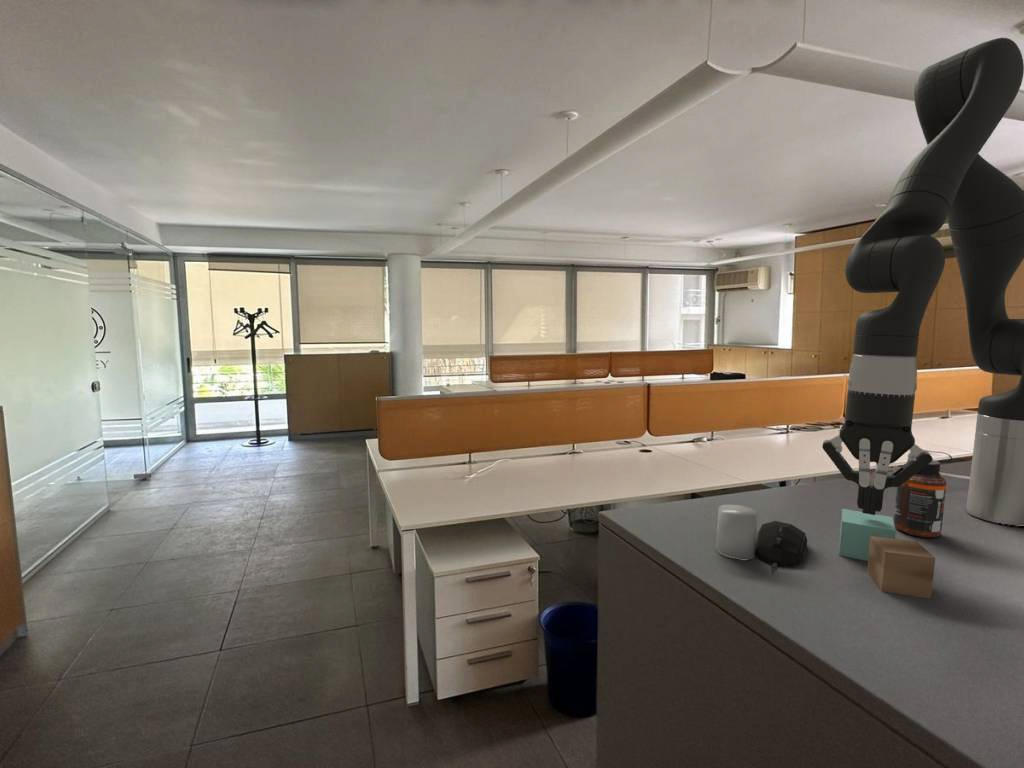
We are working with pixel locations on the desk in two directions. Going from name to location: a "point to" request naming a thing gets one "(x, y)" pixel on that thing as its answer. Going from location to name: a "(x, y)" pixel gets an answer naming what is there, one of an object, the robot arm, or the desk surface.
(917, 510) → the supplement bottle
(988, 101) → the robot arm
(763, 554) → the gaming mouse
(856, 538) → the teal block
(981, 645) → the desk surface
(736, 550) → the grey cylinder
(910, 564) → the walnut block
